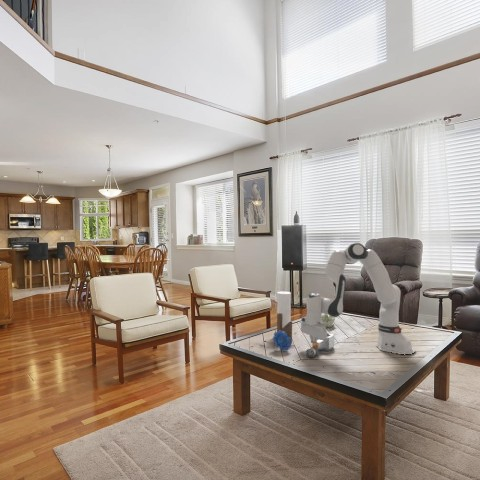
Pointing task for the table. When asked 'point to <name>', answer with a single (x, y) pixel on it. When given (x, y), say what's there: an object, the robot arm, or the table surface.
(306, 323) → the robot arm
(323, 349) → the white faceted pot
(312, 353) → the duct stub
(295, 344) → the table surface
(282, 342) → the grapes
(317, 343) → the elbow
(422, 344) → the table surface
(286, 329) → the wooden hammer
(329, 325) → the wavy plaster lump
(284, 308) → the cylinder container
